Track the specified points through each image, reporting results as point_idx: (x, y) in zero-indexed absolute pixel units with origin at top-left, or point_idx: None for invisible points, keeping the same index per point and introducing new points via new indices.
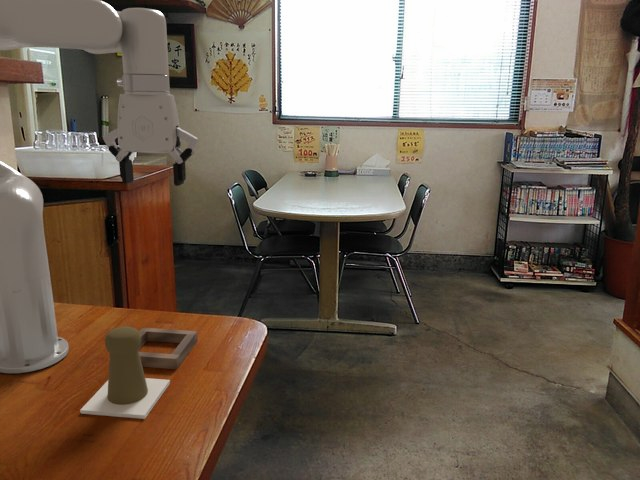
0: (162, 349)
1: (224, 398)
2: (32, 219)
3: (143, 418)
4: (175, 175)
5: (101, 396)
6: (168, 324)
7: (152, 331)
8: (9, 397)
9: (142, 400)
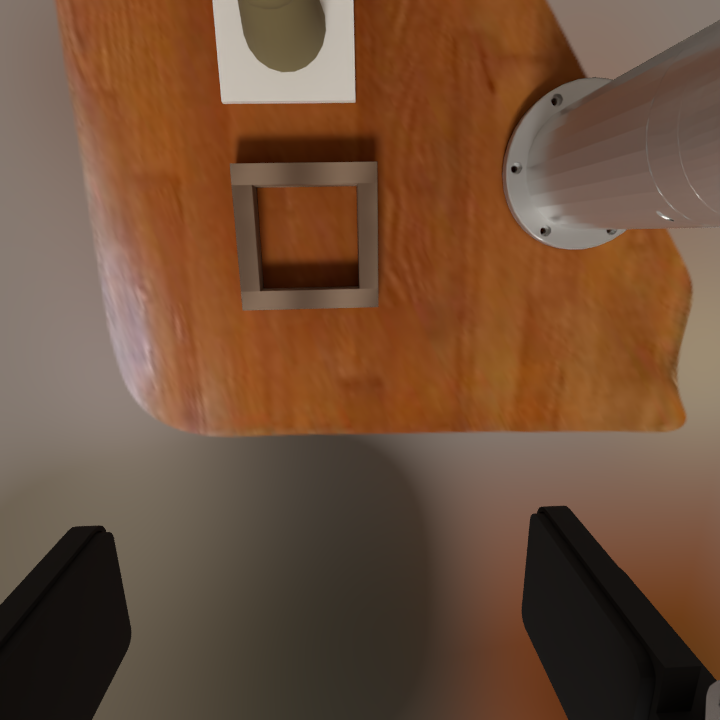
0: (307, 252)
1: (80, 58)
2: None
3: None
4: (32, 584)
5: (334, 4)
6: (347, 373)
7: (346, 290)
8: None
9: None
